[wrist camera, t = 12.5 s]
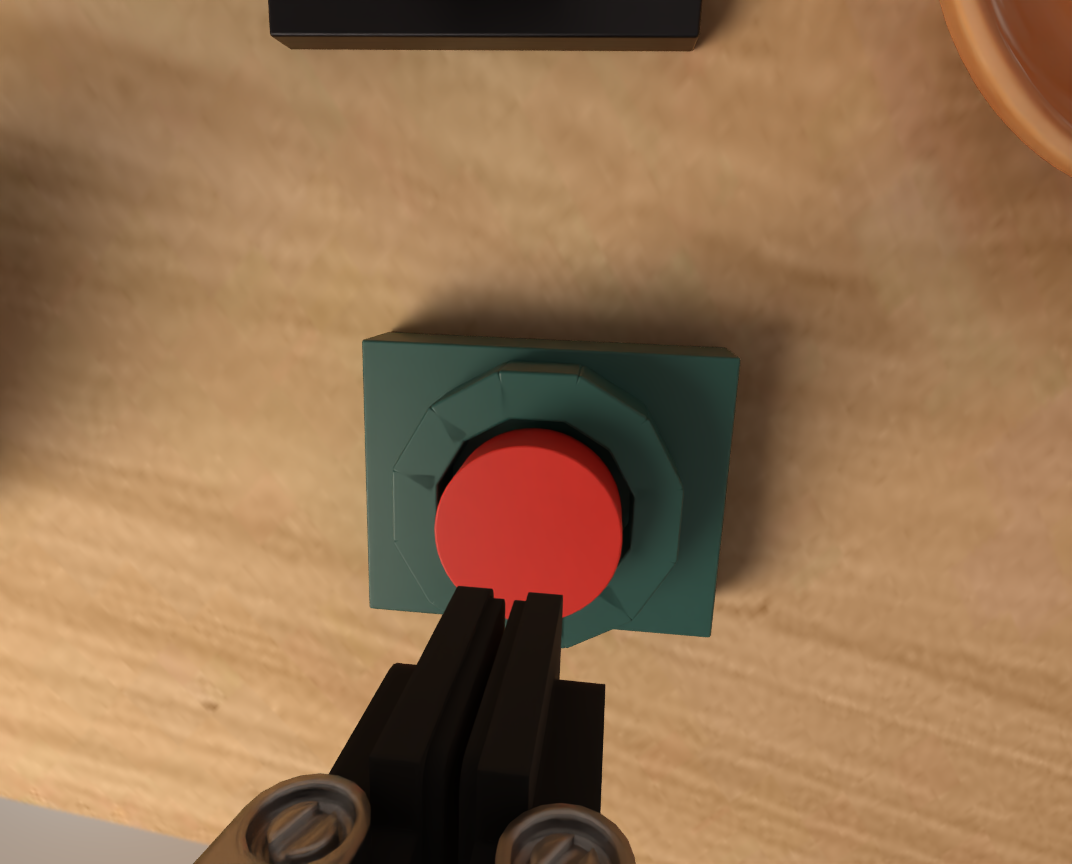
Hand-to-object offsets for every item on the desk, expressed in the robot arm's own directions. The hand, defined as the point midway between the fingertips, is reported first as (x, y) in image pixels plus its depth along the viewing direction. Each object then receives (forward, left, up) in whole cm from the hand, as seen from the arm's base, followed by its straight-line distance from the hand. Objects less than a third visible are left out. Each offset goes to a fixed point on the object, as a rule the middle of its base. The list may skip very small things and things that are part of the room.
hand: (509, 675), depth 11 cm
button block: (0, 0, -11) cm, 11 cm away
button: (0, 0, -7) cm, 7 cm away
